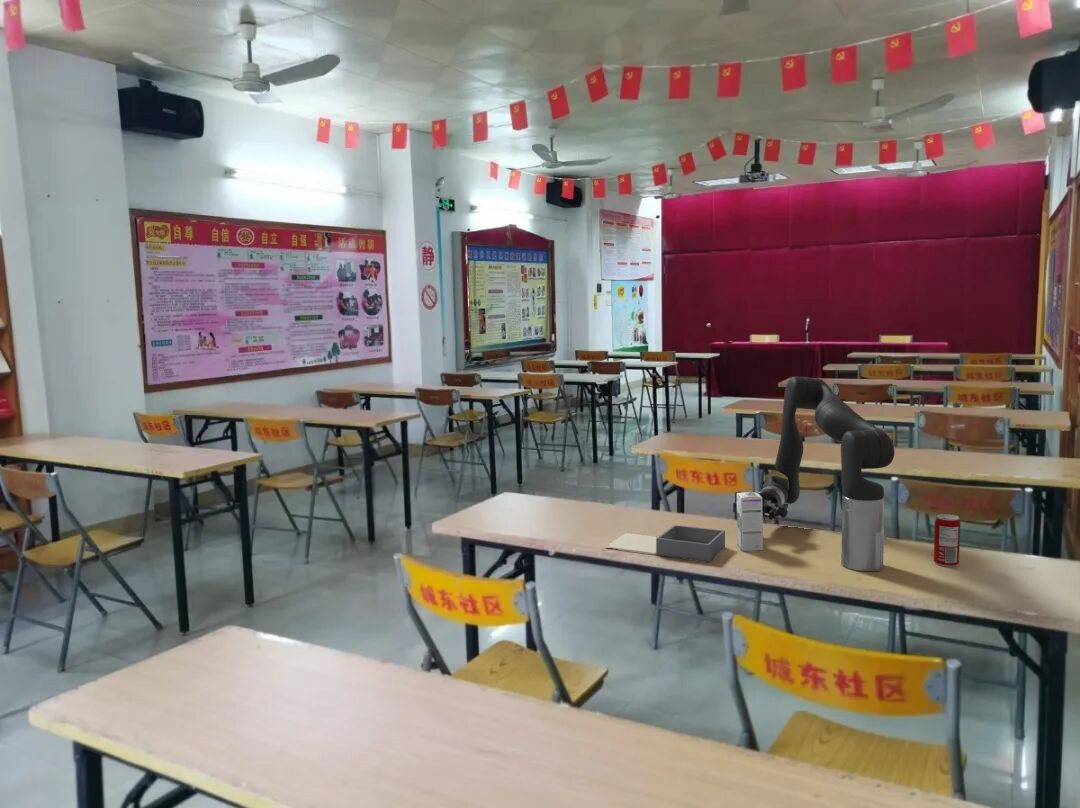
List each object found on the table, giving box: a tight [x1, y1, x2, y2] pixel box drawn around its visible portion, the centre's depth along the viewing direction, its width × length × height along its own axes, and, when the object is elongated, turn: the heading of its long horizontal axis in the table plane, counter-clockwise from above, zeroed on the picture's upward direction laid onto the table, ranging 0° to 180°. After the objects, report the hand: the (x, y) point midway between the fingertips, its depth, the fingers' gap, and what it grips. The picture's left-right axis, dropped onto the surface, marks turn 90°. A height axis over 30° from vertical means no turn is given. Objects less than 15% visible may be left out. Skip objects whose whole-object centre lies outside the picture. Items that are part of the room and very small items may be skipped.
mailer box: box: [605, 524, 726, 563], centre depth 210 cm, size 28×14×4 cm, turn 61°
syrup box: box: [736, 491, 764, 552], centre depth 207 cm, size 6×6×14 cm
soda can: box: [933, 513, 961, 567], centre depth 191 cm, size 6×6×12 cm
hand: (754, 514), depth 211 cm, fingers open, 8 cm apart
